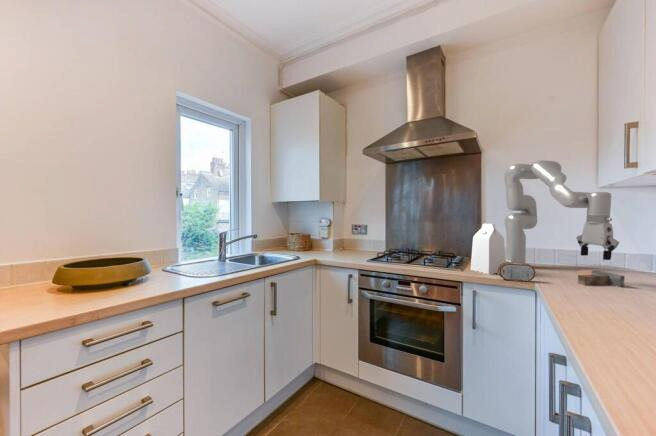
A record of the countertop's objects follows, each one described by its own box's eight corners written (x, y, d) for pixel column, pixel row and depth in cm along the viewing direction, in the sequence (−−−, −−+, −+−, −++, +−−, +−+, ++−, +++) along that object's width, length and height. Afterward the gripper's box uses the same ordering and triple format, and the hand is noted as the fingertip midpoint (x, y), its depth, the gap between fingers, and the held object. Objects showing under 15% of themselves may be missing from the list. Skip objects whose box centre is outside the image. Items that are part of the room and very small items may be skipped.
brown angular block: (595, 288, 120) (595, 276, 120) (568, 281, 132) (568, 270, 132) (624, 287, 122) (624, 276, 122) (595, 280, 134) (595, 270, 134)
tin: (533, 280, 133) (533, 263, 133) (536, 282, 130) (536, 264, 130) (497, 278, 137) (497, 261, 137) (499, 280, 134) (499, 262, 134)
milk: (505, 273, 149) (506, 224, 149) (488, 274, 146) (489, 224, 145) (486, 268, 161) (487, 223, 160) (470, 269, 157) (471, 223, 157)
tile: (599, 274, 137) (617, 274, 139) (579, 270, 147) (595, 270, 148) (599, 279, 137) (617, 279, 139) (578, 275, 147) (595, 274, 149)
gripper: (627, 221, 118) (624, 261, 119) (585, 218, 136) (583, 253, 137) (611, 221, 118) (608, 261, 119) (571, 218, 135) (569, 253, 136)
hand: (595, 257), depth 128 cm, fingers open, 9 cm apart
